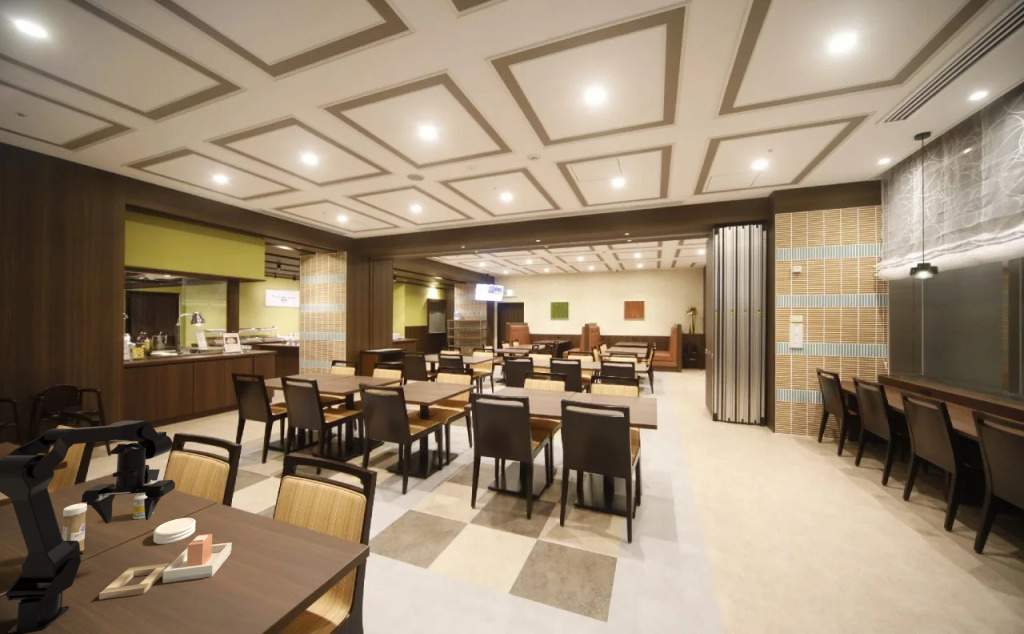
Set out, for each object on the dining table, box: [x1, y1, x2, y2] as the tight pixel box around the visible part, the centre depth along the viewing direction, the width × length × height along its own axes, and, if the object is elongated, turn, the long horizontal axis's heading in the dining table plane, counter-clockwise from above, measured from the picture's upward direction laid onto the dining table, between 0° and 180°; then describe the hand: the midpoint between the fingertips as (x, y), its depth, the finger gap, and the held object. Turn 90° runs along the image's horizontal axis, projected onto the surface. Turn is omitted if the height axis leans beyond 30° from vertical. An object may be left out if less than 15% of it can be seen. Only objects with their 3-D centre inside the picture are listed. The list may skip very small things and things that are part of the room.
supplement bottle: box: [132, 489, 155, 520], centre depth 131 cm, size 5×5×10 cm
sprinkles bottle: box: [61, 502, 88, 552], centre depth 109 cm, size 5×5×14 cm
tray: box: [162, 542, 233, 584], centre depth 104 cm, size 11×11×3 cm
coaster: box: [152, 517, 197, 545], centre depth 119 cm, size 10×10×4 cm
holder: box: [98, 562, 170, 601], centre depth 97 cm, size 10×9×2 cm
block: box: [187, 533, 213, 567], centre depth 104 cm, size 5×4×7 cm
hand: (128, 521), depth 104 cm, fingers open, 9 cm apart
